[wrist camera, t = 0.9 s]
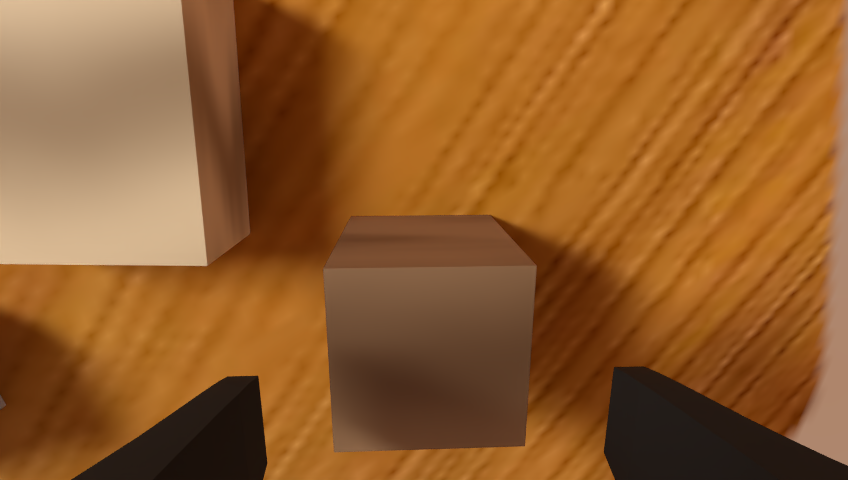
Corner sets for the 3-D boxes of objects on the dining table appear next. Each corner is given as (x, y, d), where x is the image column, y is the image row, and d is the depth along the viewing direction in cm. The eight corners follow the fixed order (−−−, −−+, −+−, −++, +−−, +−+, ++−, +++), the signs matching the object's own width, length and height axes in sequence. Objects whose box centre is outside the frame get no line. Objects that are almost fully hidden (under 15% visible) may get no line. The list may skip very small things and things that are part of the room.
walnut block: (485, 340, 18) (524, 446, 12) (356, 343, 18) (334, 452, 12) (489, 214, 17) (536, 265, 11) (351, 215, 16) (323, 268, 11)
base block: (252, 232, 17) (207, 265, 13) (22, 228, 16) (-96, 263, 12) (235, -13, 15) (175, -60, 11) (-29, -23, 14) (-190, -77, 10)
